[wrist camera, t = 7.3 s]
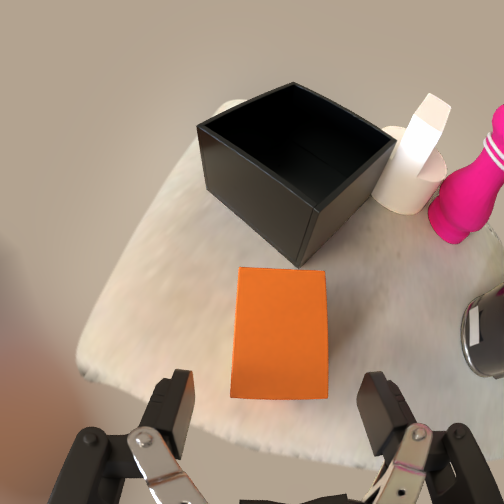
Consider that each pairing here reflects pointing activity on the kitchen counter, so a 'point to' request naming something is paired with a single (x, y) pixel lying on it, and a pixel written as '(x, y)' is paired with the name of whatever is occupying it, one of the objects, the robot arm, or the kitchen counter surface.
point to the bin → (292, 165)
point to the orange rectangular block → (280, 335)
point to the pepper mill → (471, 189)
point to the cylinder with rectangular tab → (414, 160)
